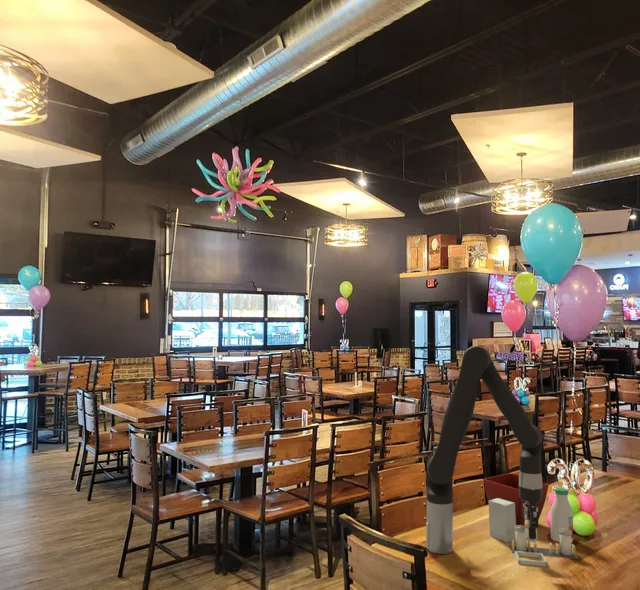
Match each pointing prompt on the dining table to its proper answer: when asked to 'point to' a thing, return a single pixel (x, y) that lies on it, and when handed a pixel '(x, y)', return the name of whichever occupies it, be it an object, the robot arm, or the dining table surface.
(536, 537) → the fuse marked
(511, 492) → the plant pot
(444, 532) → the robot arm
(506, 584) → the dining table surface
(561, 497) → the milk bottle
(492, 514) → the skincare box
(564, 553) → the cylinder
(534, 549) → the fuse block
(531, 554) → the grey square frame
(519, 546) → the cylinder
